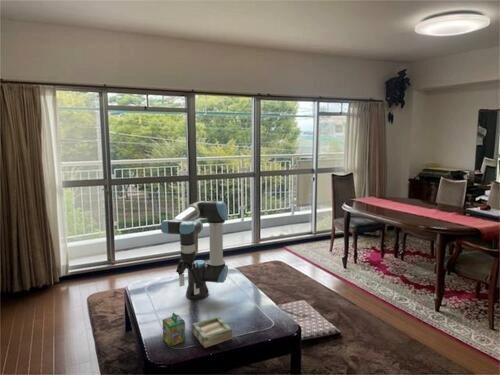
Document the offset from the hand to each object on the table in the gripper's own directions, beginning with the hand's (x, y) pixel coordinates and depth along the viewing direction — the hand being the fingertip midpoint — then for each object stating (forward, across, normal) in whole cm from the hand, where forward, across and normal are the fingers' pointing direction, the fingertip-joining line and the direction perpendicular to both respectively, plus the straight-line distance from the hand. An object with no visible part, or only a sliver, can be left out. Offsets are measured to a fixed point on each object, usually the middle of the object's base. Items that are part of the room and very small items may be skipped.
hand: (189, 289), depth 192 cm
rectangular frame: (+27, +7, +9) cm, 30 cm away
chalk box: (+28, -4, -8) cm, 29 cm away
